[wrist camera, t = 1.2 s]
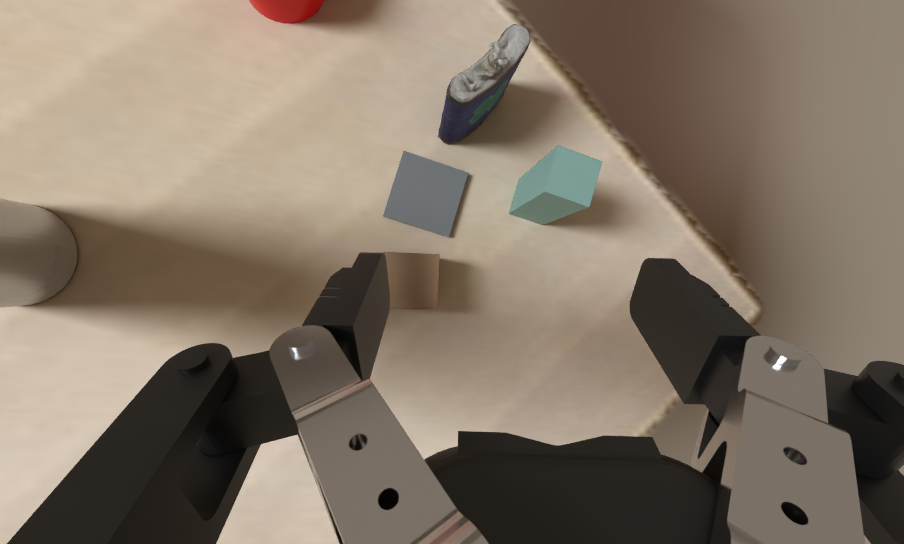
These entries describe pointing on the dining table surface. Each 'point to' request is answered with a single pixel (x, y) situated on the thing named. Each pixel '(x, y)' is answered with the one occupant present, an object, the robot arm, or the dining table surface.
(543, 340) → the dining table surface
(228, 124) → the dining table surface
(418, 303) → the walnut block
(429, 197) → the slate coaster
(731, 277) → the dining table surface
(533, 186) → the teal post
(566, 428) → the dining table surface
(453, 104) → the flask
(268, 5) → the mug
